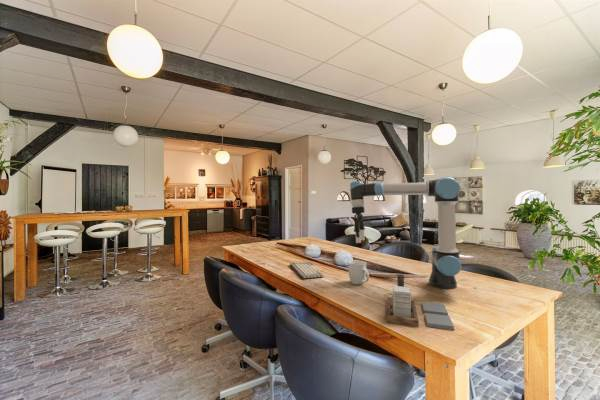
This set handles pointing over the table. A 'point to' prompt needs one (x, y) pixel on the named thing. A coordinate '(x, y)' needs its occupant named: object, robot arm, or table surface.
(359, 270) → the mug
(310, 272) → the mechanical keyboard
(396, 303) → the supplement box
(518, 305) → the table surface
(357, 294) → the table surface
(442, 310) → the broken grey strip
